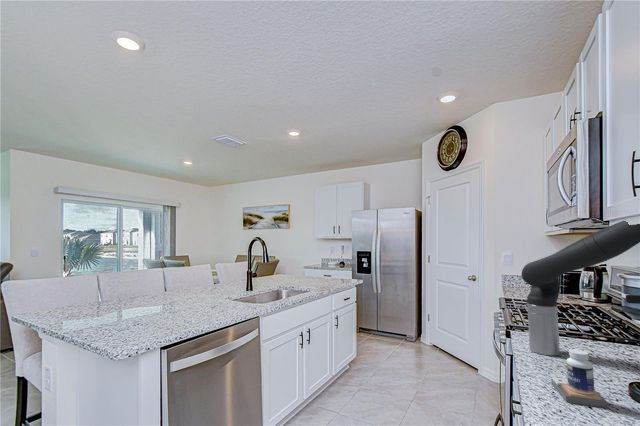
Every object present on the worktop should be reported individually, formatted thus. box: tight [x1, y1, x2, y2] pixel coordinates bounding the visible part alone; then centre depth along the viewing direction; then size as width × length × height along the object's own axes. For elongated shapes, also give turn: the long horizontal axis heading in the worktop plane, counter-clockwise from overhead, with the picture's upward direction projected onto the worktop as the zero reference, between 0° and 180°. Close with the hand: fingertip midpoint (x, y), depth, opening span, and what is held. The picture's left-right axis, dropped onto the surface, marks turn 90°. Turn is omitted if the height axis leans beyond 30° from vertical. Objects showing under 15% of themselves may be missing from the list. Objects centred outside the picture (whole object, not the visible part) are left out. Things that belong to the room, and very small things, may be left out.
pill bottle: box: [566, 348, 595, 395], centre depth 83 cm, size 5×5×10 cm
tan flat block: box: [550, 377, 609, 409], centre depth 85 cm, size 11×8×2 cm
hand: (635, 301), depth 84 cm, fingers open, 8 cm apart
